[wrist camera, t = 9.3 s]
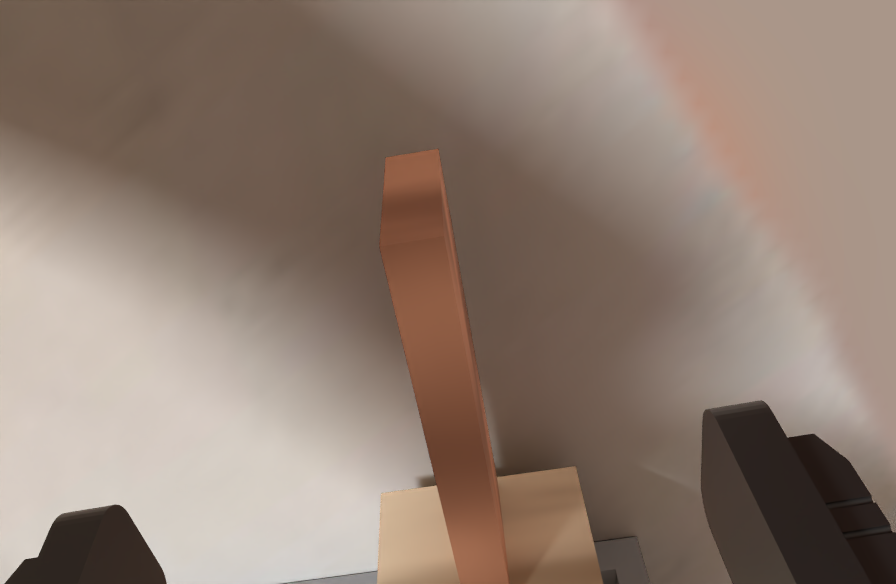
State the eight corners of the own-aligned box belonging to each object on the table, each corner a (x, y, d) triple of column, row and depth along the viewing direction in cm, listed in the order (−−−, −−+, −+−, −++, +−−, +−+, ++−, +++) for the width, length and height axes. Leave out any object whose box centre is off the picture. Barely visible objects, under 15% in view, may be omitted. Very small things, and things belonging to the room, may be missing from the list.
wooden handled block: (283, 167, 18) (234, 317, 13) (542, 125, 18) (593, 263, 13) (435, 674, 30) (439, 857, 25) (594, 654, 29) (631, 836, 24)
